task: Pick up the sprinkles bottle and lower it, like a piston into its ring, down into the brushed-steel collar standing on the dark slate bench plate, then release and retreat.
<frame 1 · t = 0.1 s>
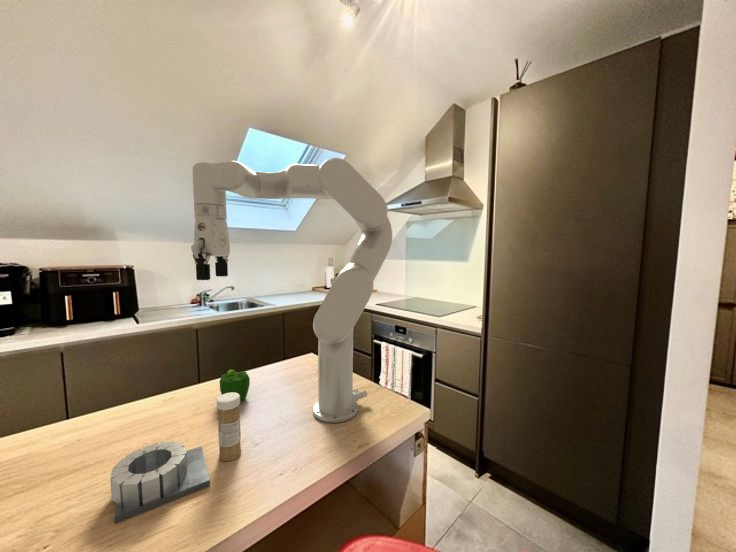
hand: (213, 278, 81), 37 cm above the counter, tool pointing down, fingers open, 9 cm apart
sprinkles bottle: (230, 456, 66), on the counter
collar block: (152, 486, 58), on the counter
bell pepper: (234, 401, 90), on the counter
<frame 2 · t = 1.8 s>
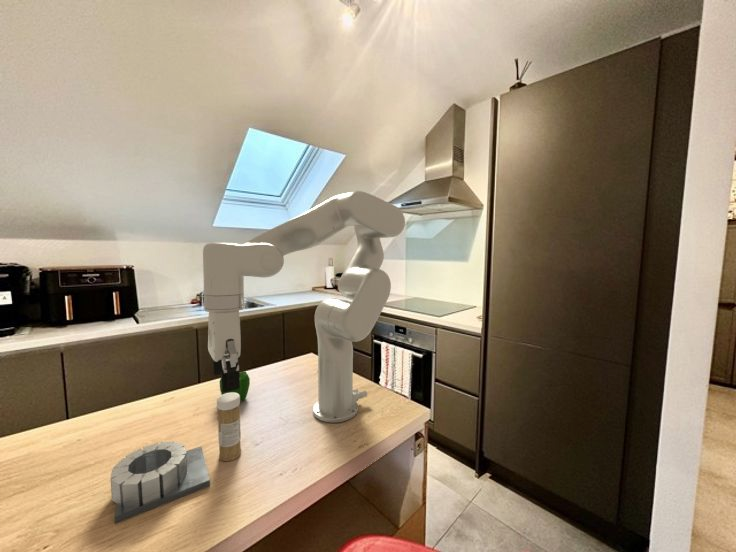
hand: (226, 381, 65), 17 cm above the counter, tool pointing down, fingers open, 9 cm apart
nothing on the counter moved.
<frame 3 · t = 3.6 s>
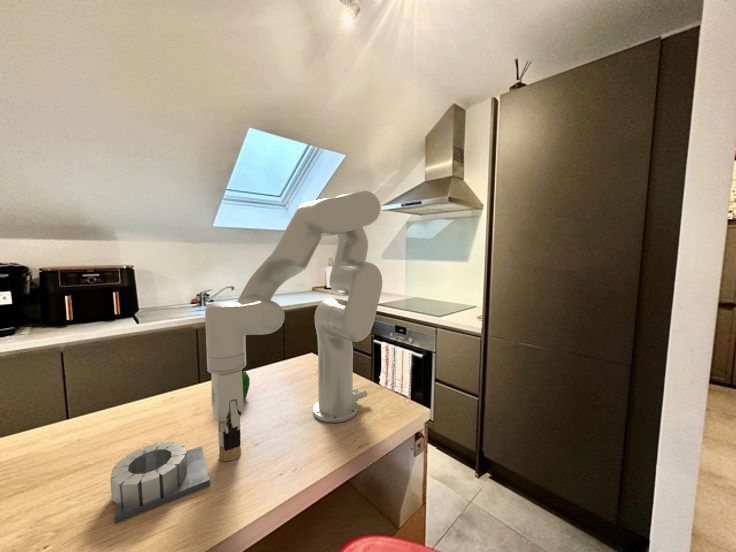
hand: (229, 440, 66), 3 cm above the counter, tool pointing down, fingers closed on sprinkles bottle, 4 cm apart
sprinkles bottle: (230, 456, 66), on the counter, touching gripper
everything else where it was.
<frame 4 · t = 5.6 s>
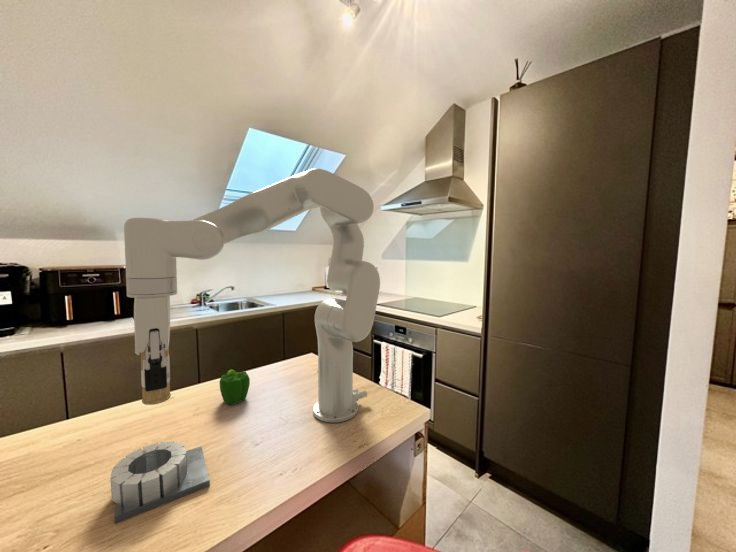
hand: (156, 382, 57), 20 cm above the counter, tool pointing down, fingers closed on sprinkles bottle, 4 cm apart
sprinkles bottle: (156, 401, 57), point 16 cm above the counter, touching gripper
everything else where it was.
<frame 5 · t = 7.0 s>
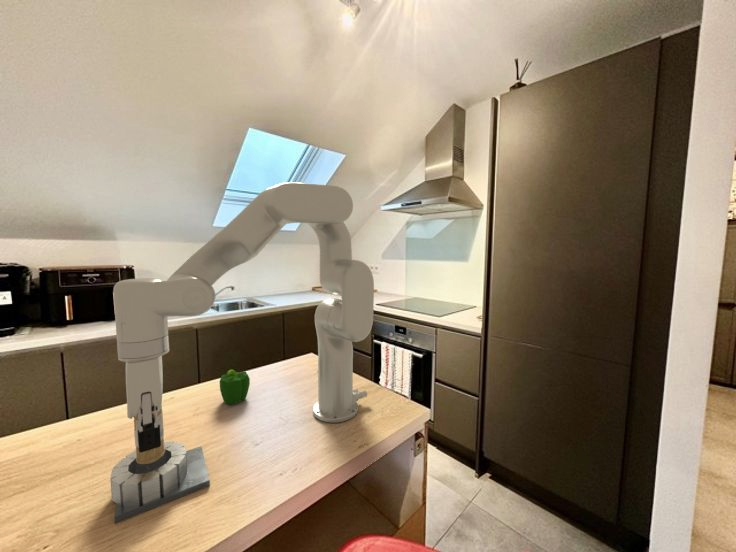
hand: (150, 440, 57), 9 cm above the counter, tool pointing down, fingers closed on sprinkles bottle, 4 cm apart
sprinkles bottle: (151, 458, 57), point 6 cm above the counter, touching gripper
everything else where it was.
when the fingers open (6 cm above the counter, at t = 8.0 s): sprinkles bottle drops 1 cm, resting on collar block.
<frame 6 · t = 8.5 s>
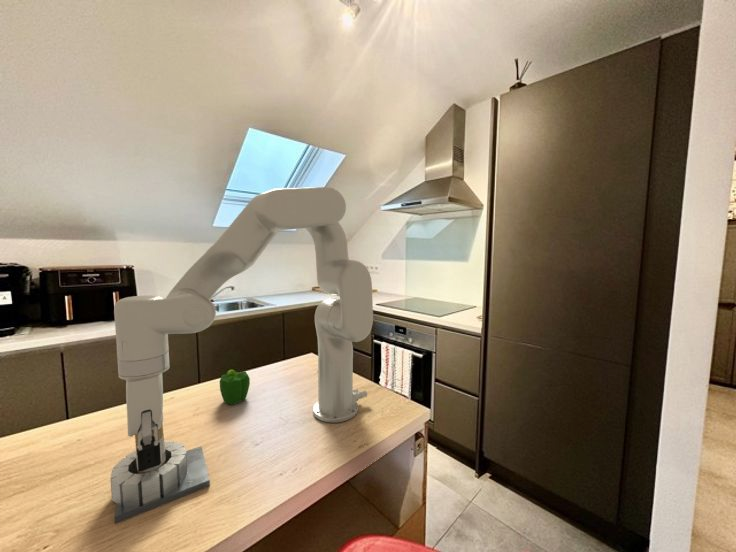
hand: (150, 452, 57), 7 cm above the counter, tool pointing down, fingers open, 9 cm apart
sprinkles bottle: (152, 481, 58), point 1 cm above the counter, touching collar block
everything else where it was.
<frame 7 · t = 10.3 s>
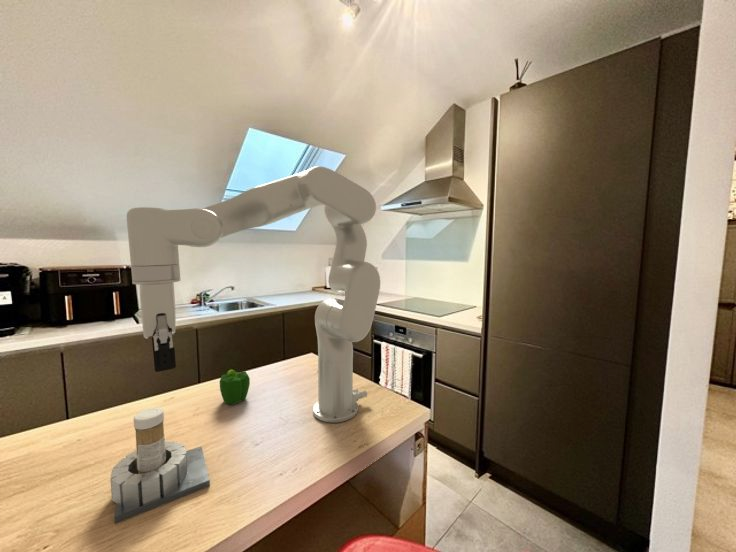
hand: (164, 361, 59), 23 cm above the counter, tool pointing down, fingers open, 9 cm apart
nothing on the counter moved.
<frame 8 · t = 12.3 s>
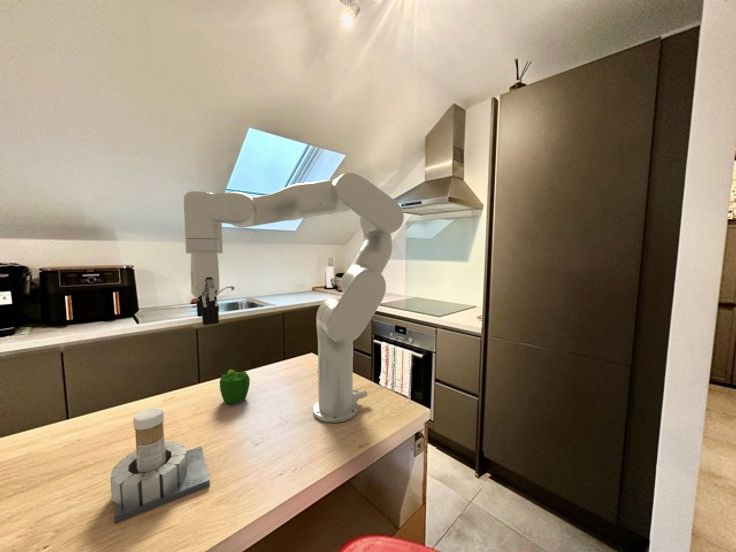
hand: (207, 319, 72), 28 cm above the counter, tool pointing down, fingers open, 9 cm apart
nothing on the counter moved.
at the end: sprinkles bottle 0.2 cm off-centre on the collar block, point 1.0 cm above the collar block's base; sprinkles bottle tilted 0°; the gripper is holding nothing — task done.
